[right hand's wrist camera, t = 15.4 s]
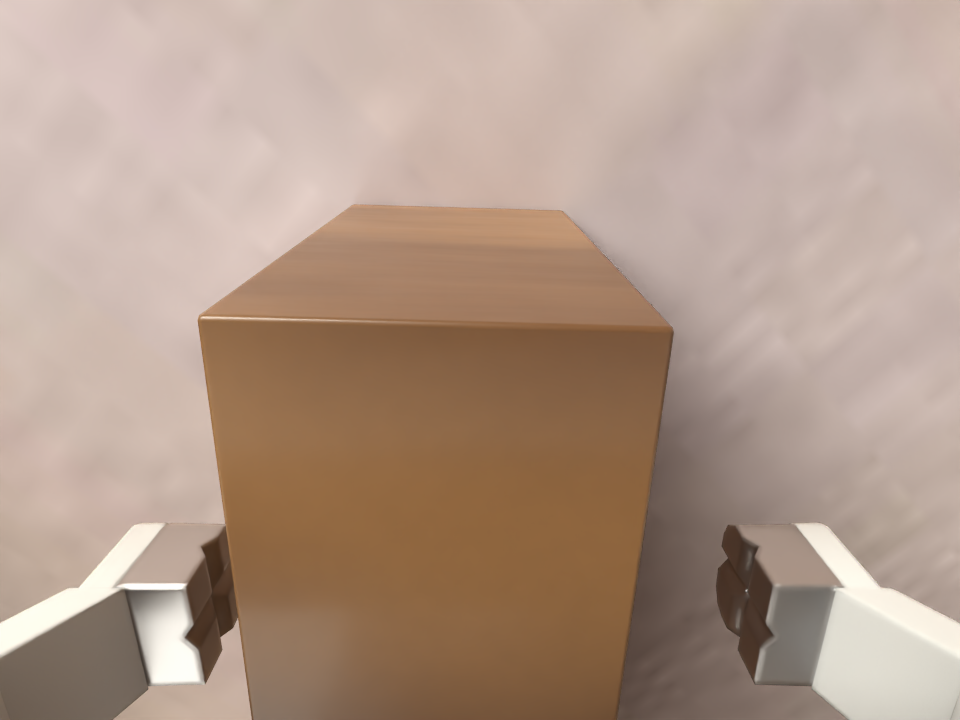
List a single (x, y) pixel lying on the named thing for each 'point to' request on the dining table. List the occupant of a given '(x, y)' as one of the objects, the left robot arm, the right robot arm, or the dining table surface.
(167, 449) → the dining table surface
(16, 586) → the dining table surface
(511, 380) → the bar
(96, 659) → the right robot arm
